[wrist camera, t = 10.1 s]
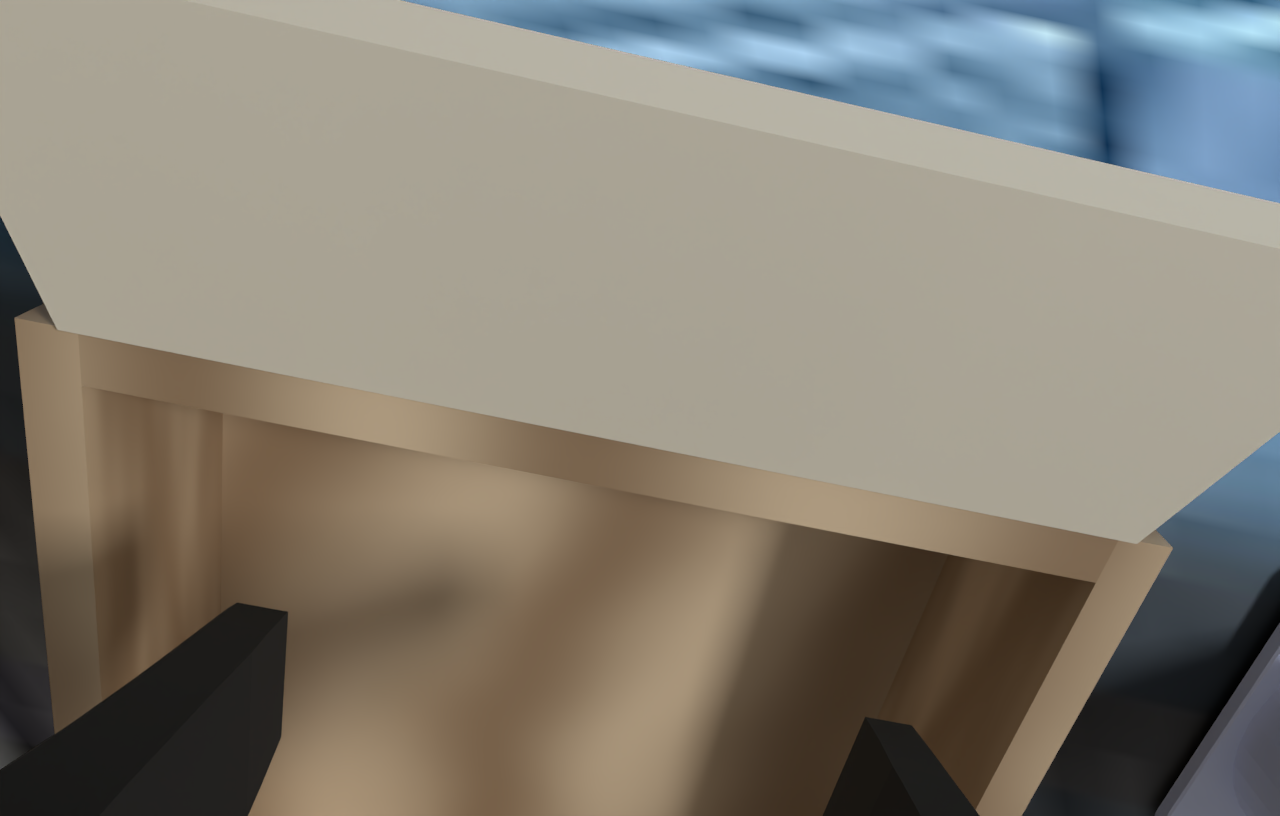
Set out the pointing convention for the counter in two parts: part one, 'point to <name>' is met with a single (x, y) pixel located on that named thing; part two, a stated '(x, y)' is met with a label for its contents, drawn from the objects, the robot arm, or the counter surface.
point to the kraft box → (543, 598)
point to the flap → (638, 253)
